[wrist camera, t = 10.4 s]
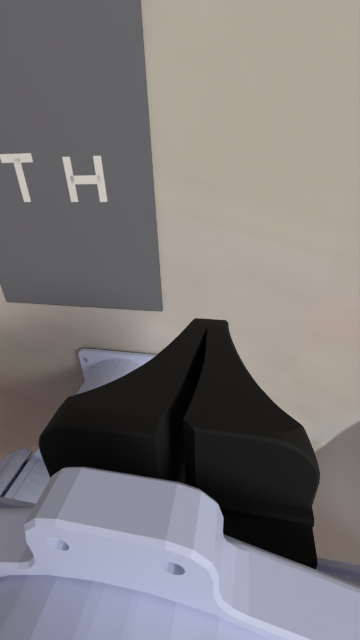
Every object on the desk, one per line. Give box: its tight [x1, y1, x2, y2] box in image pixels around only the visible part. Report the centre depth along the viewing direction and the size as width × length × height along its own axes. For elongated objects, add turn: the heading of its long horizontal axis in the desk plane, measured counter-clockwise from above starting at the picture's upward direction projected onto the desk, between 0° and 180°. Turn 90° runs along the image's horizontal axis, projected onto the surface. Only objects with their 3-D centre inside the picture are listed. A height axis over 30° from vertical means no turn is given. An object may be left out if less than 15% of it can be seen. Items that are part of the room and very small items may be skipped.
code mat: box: [0, 0, 163, 311], centre depth 20 cm, size 18×13×1 cm
